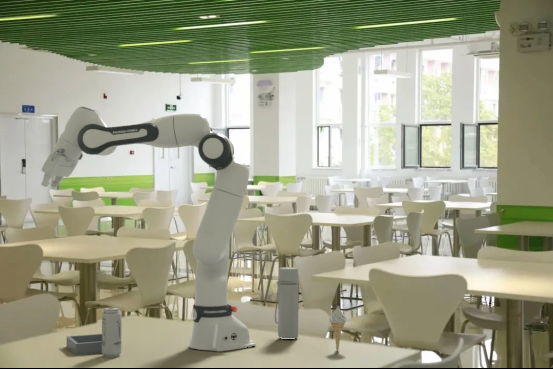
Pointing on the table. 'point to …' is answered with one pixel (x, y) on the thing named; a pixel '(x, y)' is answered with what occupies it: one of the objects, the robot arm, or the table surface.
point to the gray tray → (85, 344)
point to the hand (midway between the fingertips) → (48, 186)
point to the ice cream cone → (337, 324)
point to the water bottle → (287, 302)
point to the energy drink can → (111, 332)
